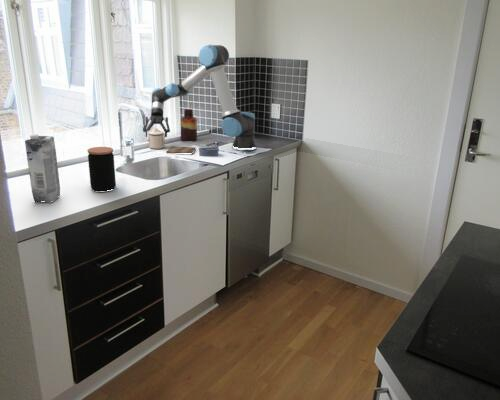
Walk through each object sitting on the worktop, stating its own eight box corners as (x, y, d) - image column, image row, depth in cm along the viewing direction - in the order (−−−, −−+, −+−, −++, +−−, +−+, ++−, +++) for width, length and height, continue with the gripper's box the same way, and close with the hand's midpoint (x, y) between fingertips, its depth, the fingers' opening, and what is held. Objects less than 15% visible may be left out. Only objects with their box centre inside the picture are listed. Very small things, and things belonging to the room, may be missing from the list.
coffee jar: (107, 183, 202) (104, 145, 196) (120, 188, 196) (118, 149, 190) (86, 188, 195) (82, 149, 188) (99, 194, 188) (96, 153, 182)
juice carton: (63, 195, 185) (55, 132, 176) (53, 204, 176) (45, 138, 166) (41, 194, 185) (33, 131, 176) (30, 203, 175) (21, 137, 166)
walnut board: (195, 149, 271) (195, 147, 270) (191, 154, 258) (191, 152, 257) (172, 148, 272) (172, 146, 271) (166, 153, 258) (166, 151, 258)
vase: (191, 137, 302) (191, 108, 295) (199, 140, 294) (199, 110, 287) (177, 139, 295) (177, 109, 288) (186, 142, 288) (185, 111, 281)
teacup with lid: (167, 147, 271) (166, 128, 267) (156, 149, 264) (155, 130, 260) (153, 144, 277) (153, 125, 273) (142, 146, 271) (141, 127, 266)
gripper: (175, 114, 280) (174, 144, 271) (140, 114, 278) (138, 144, 269) (174, 107, 274) (173, 137, 264) (139, 106, 271) (137, 137, 262)
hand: (156, 141), depth 266 cm, fingers closed on teacup with lid, 9 cm apart
